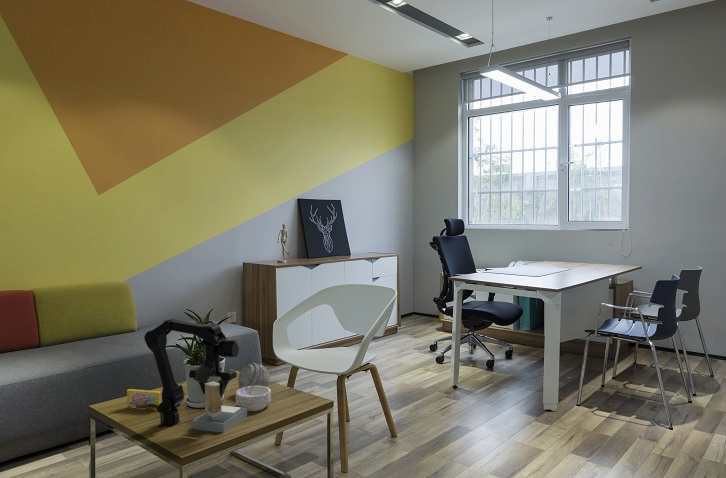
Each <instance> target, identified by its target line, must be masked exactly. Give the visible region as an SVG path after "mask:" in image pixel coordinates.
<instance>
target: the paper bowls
mask: <svg viewBox="0 0 726 478" xmlns="http://www.w3.org/2000/svg"><path fill="white" fill-rule="evenodd" d="M271 401H272V390H271V388H270V387H269V386H267V387H265V386H248V387H244V388H241V389H240V388H239V389H237V390H236V391H235V405H237V407H241V408H247V412H257V411H261V410H263V409H265V408H266V406H267V405H268V404H269V403H271Z"/></svg>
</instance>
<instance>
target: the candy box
mask: <svg viewBox="0 0 726 478" xmlns="http://www.w3.org/2000/svg"><path fill="white" fill-rule="evenodd" d="M126 399H127V408H128V407H136V408H145V409H153V410H152V411H157V407H158V406H159V404H160V403H161V402H162V391H161V390H160V391H158V390H146V389H134V388H128V389H127V390H126ZM145 409H144V410H145Z"/></svg>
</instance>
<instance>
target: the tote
mask: <svg viewBox="0 0 726 478" xmlns="http://www.w3.org/2000/svg"><path fill="white" fill-rule="evenodd" d="M247 417H248V411H247V408H241V411H240V412H239V413H237V414H236V415H234V416H233V417H231V418H230V419H228V420H227V421H217V420H212V417H211V416H209V415H207V414H206V413H205V412H204V413H202V414H201V415H199V416H197V417H195V418H193V420H192V421H191V423H192V426H191V427H192V430H197V431H206V432H214V433H225V432H227V431H228V430H229V429H231V428H233V427H234V426H236V425H237V424H238V423H240V422H241V421H242V420H244V419H246V418H247Z"/></svg>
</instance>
